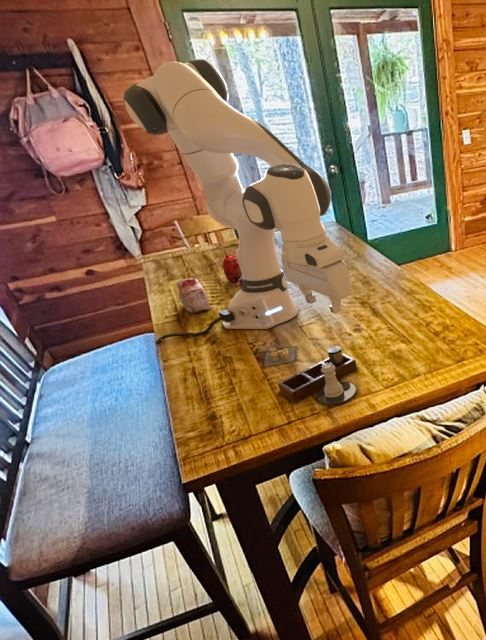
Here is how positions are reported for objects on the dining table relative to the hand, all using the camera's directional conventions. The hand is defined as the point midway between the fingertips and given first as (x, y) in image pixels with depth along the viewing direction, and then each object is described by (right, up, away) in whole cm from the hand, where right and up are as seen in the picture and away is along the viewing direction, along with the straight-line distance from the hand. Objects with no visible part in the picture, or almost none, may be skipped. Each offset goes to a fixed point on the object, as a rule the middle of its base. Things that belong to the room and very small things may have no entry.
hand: (323, 307), depth 110 cm
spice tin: (-1, -15, +17) cm, 23 cm away
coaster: (+1, -20, +8) cm, 22 cm away
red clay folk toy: (-58, +19, +78) cm, 99 cm away
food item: (-61, +6, +58) cm, 84 cm away
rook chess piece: (0, -20, +8) cm, 22 cm away
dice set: (-20, -11, +26) cm, 34 cm away
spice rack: (-5, -17, +14) cm, 23 cm away
